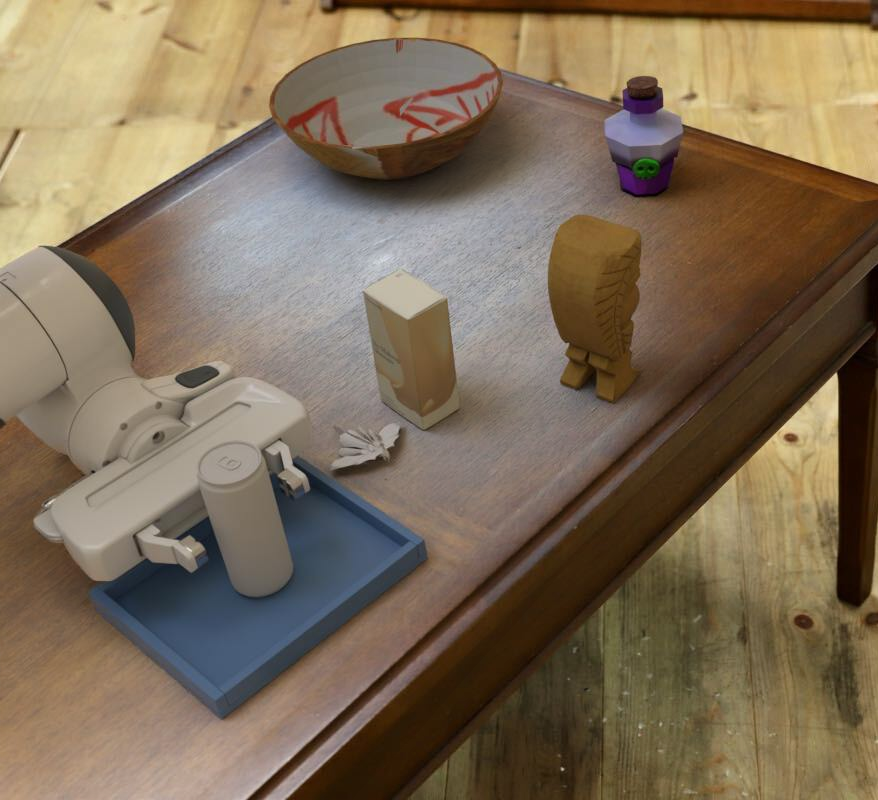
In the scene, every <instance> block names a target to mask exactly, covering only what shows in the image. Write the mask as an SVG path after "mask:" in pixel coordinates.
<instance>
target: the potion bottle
mask: <svg viewBox="0 0 878 800" xmlns="http://www.w3.org/2000/svg"><path fill="white" fill-rule="evenodd" d="M658 85H659V81H658V78H657V77H655V76H651V75H638V76H634V77H631V78H630V79H628V80H627V81H626V87H625V88H623V89H622V90H621V91H622V110H620V111H618V112H616V113H615V114H612V115H611V116H609V117H607V118H605V119H604V135H605V136H604V137H605V140H606V143H607V148H608V150H609V155H610V158H611V161H612V163H614V164H615V166H616V167H615V168H616V169H617V173H618V177H619V187H620V191H621V192H624V193H625V194H628V195H631V196H632V197H634V198H645V197H647V198H648V197H649V198H650V197H657V196H659V195H661V194H662V193H664V192H666V191H667V190H669V189H670V188H671V185H670V181H671V177H672V172H673V168H674V164H675V158H677V157H678V156H679V151H680V148H681V143H682V139H683V135H684V129H683V121H682V116H681V115H678V114H677V113H673V112H671V111H669V110H667V109H664V91H663V88H662V87H660V86H658Z"/></svg>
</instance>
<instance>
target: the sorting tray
mask: <svg viewBox="0 0 878 800" xmlns="http://www.w3.org/2000/svg"><path fill="white" fill-rule="evenodd" d="M292 462H293V466H294V467H295V468H297V469H298V470H300V471H301V472H303V473H304V474H305V475H306V477H307V479H308V482H309V486H310V490H309V491H308V492H307V493H305V494H304V495H302V496H301V497H299V498H298V499H296V500H295V501H293V500H291V499H290V496H285V495H284V494H283V493H281V490H280V483H279V482H278V478H277V474H276V473H274V472H273V473H272V474H270V475H269V477H270V481H271V484H272V488H273V492H274V495H275V499H276V503H277V507H278V510H279V514H280V518H281V521H282V525H283V529H284V533H285V536H286V540H287V544H288V547H289V551H290V555H291V558H292V562H293V573H292V575H291V578H290V579H289V581H288V582H287V583H286V584H285V586H284V587H282V588H281V589H280V590H279V591H277V592H275V593H273V594H271V595H268V596H264V597H249V596H246V595H243V594H241V593H239V592H238V591H237V590H235V588H234V587H233V585H232V584H231V581H230V577H229V574H228V571H227V568H226V565H225V562H224V559H223V556H222V553H221V551H220V548H219V545H218V542H217V539H216V536H215V533H214V530H213V527H212V524H211V521H210V518H209V516H208V517H207V518H205V519H204V520H202V521H201V522H199V523H198V524H196V525H195V526H193V527H192V528H190V529H189V530H187V531H186V532H184V533H183V534H181V535H180V536H178V537H177V538H175V539H174V540H180V541H181V540H182V539H184V538H185V537H187V536H188V535H191V536H192V537H193V538H195V540H196V542H200V543H201V544H202V545H203V546H204V548H205V550H206V556H208V559H209V560H208V561H207V562H206V563H205V564H203V565H202V566H201V567H199V568H198V569H196V570H195V571H194V572H192V573H191V572H189V571H188V570H187V569H185V568H184V567H183V566H181V565H180V564H179V563H178V564H169V563H154V562H151V561H150V560H149V559H148V558H146V559H144V560H143V561H141V562H140V563H138V564H137V565H136V566H134V567H133V568H131V569H130V570H128V571H127V572H125V573H124V574H122V575H121V576H119V577H118V578H116V579H115V580H113V581H102V582H101V583H99V584H98V585H97V586H95V587H93V588H92V589H90V590H89V591H88V592H87V593H88V596H89V598H90V600H91V603H92V605H93V608H94V610H95V612H96V613H98V614H99V615H100V616H101V617H102V618H103V619H104V620H105V621H107V622H108V623H109V624H110V625H112V626H113V627H114V628H115V629H116V630H117V631H119V633H121V634H122V635H123V636H124V637H125V638H127V639H128V640H129V641H130V642H131V643H132V644H133V645H135V646H136V647H137V648H138V649H139V650H140V651H141V652H143V653H144V654H145V655H146V656H148V657H149V658H150V659H151V660H152V661H153V662H154V663H156V664H157V665H158V666H159V667H160V668H161V669H163V670H164V672H166V673H167V674H168V675H170V676H171V677H172V678H173V679H174V680H175V681H177V682H178V683H179V684H180V685H181V687H183V688H185V689H186V690H187V691H188V692H189V693H190V694H191V695H193V696H194V697H195V698H196V699H197V700H199V702H200V703H202V704H203V705H204V706H205V707H206V708H208V709H209V710H210V711H211V712H213V713H214V714H215V715H216V716H217V717H218V718H219V719H220V720H223V719H224V718H225V717H227V716H229V714H231V713H232V712H233V711H234V710H236V709H237V708H239V706H241V705H242V704H243V703H245V702H246V701H247V700H249V699H250V698H251V697H252V696H254V695H255V694H256V693H258V692H259V691H260V690H261V689H263V688H264V687H265V686H266V685H268V684H269V683H270V682H272V681H273V680H274V679H275V678H277V677H278V676H280V674H282V673H283V672H285V670H287V669H288V668H290V667H291V666H292V665H293V664H295V663H296V662H297V661H298V660H300V659H301V658H302V657H304V656H305V655H306V654H308V653H309V652H310V651H311V650H313V649H314V648H315V647H316V646H317V645H319V644H320V643H321V642H323V641H324V640H326V639H327V638H328V637H329V636H330V635H332V634H333V633H334V632H336V631H337V630H338V629H339V628H340V627H342V626H343V625H344V624H346V623H347V622H348V621H350V620H351V619H352V618H353V617H355V616H356V615H357V614H359V612H361V611H362V610H363V609H365V608H366V607H367V606H368V605H371V603H372V602H374V601H375V600H376V599H378V598H379V597H380V596H381V595H383V594H384V593H385V592H387V591H388V590H389V589H390V588H391V587H393V586H394V585H395V584H397V583H398V582H399V581H401V580H403V578H404V577H406V576H407V575H408V574H410V573H411V572H412V571H413V570H415V569H416V568H417V567H418V566H420V565H421V564H422V563H423V562H425V561H426V560H428V552H427V546H426V542H425V539H424V538H423V537H421V536H420V535H418V534H417V533H415V532H414V531H412V530H411V529H409V528H408V527H406V526H404V525H403V524H402V523H400V522H399V521H398V520H396V519H394V518H393V517H392V516H390V515H388V514H387V513H385V512H383V510H380V508H378V507H376V506H375V505H373V504H372V503H370V502H368V501H367V500H366V499H364V498H363V497H361V496H360V495H359V494H357V493H355V492H353V490H351V489H349V488H348V487H346V486H345V485H344V484H342V483H340V482H339V481H337V480H336V479H334V478H333V477H332V476H330V475H328V474H327V473H325V472H324V471H322V470H321V469H320V468H318V467H316V466H315V465H313V464H312V463H310V461H309V462H308V461H307V460H306V459H304V458H303V457H301V456H300V455H298V456H297V457H295V458H294V459H292Z"/></svg>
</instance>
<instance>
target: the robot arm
mask: <svg viewBox="0 0 878 800" xmlns="http://www.w3.org/2000/svg"><path fill="white" fill-rule="evenodd" d="M128 303H129V302H128V301H127V299H126V297H125V296H124V294H123V292H122V290H120V288H119V286H118V285H117V284H116V283H115V281H114V280H113V279H112V278H111V277H110V276H109V275H108V274H107V273H106V272H105V271H104V270H102V268H100V267H99V266H98V265H96V264H95V263H94V262H93V261H91V260H90V259H88V258H87V257H86V256H83V255H81V254H79V253H76V252H74V251H71V250H69V249H66V248H62V247H59V246H53V245H38V246H37V247H36V248H34V249H32V250H30V251H28V252H25V253H24V254H22V255H20V256H19V257H17V258H15V259H14V260H12V261H10V262H8V263H7V264H5V265H3V266H2V267H0V430H2V429H3V428H4V427H5V426H6V425H7V422H9V421H10V420H12V419H13V418H15V417H16V418H18V420H19V421H20V422H21V423H22V424H23V425H24V426H25V427H26V428H27V429H28V430H29V431H30V432H31V433H32V434H33V435H35V436H36V437H37V438H38V439H39V440H40V441H42V442H43V443H44V444H45V445H46V446H48V447H49V448H50V449H52V450H53V451H55V452H57V453H59V454H62V455H65V456H67V457H68V458H69V460H70V461H71V463H72V464H73V465H74V466H75V468H76V469H78V470H79V471H80V472H82V473H83V474H84V476H82V477H81V478H79V479H78V480H76V481H74V482H73V483H72V484H70V485H69V486H68V487H66V489H64V490H62V491H61V492H59V493H57V494H53V495H52V496H49V498H48V497H47V499H46V500H45V501H43V502H42V503H41V505H40V507H41V509H40V510H38V512H37V513H36V514H35V516H34V519H33V527H34V529H35V531H37V533H39V534H40V535H41V536H43V537H44V538H45V539H46V540H47V541H49V542H51V543H54V544H63V545H64V547H65V549H66V551H67V552H68V554H69V555H70V556H71V558H72V559H73V560H74V562H75V563H76V564H77V565H78V566H79V568H80V569H81V570H82V571H83V572H84V573H85V574H86V575H87V576H88V577H89V578H90V579H91V580H93V581H95V582H104V581H113V580H115V579H116V578H118V577H119V576H121V575H122V574H124V573H125V572H127V571H128V570H130V569H131V568H133V567H134V566H136V565H137V564H138V563H140V562H141V561H143V560H144V559H146V558H148V559H149V560H150V561H151V562H154V563H169V564H178V563H179V564H180V565H181V566H183V567H184V568H185V569H187V570H188V571H189V572H191V573H192V572H194V571H195V570H196V569H198V568H199V567H201V566H202V565H203V564H205V563H206V562H207V561H208V560H209V559H208V556H206V550H205V548H204V546H203V545H202V544H201V543H200V542H196V540H195V538H193V537H192V536H191V535H188V536H187V537H185V538H184V539H182V540H181V541H180V540H174V539H175V538H177V537H178V536H180V535H181V534H183V533H184V532H186V531H187V530H189V529H190V528H192V527H193V526H195V525H196V524H198V523H199V522H201V521H202V520H204V519H205V518H207V517H208V516H209V515H208V512H207V508H206V505H205V502H204V499H203V496H202V493H201V490H200V486H199V483H198V479H197V469H196V467H197V462H198V460H199V458H200V456H201V455H202V454H203V453H204V452H205V451H207V450H208V449H209V448H211V447H213V446H215V445H217V444H219V443H222V442H226V441H233V440H241V441H247V442H250V443H252V444H254V445H255V446H257V447H258V449H259V450H260V451H261V455H262V456H263V457H264V459H265V462H266V466H267V470H268V473H269V475H270V474H272V473H273V472H274V473H276V474H277V478H278V482H279V483H280V490H281V493H283V494H284V495H285V496H290V499H291V500H293V501H295V500H296V499H298V498H299V497H301V496H302V495H304V494H305V493H307V492H308V491H309V490H310V486H309V482H308V479H307V477H306V475H305V474H304V473H303V472H301V471H300V470H298V469H297V468H295V467H294V466H293V462H292V459H294V458H295V457H297V456H300V455H301V454H303V453H305V452H306V451H308V450H309V449H310V448H311V447H312V446H313V444H314V428H313V423H312V419H311V416H310V413H309V410H308V409H307V407H306V406H305V404H304V403H303V402H302V401H300V400H299V399H297V398H296V397H294V396H293V395H291V394H289V393H288V392H286V391H284V390H282V389H280V388H278V387H276V386H275V385H273V384H271V383H268V382H266V381H264V380H261V379H259V378H257V377H252V376H239V377H237V376H236V373H235V371H234V369H233V367H232V366H231V365H230V363H228V362H226V361H223V360H214V361H210V362H207V363H205V364H201V365H199V366H196V367H193V368H189V369H186V370H184V371H179V372H177V373H173V374H168V375H163V376H157V377H152V378H149V379H148V378H145V377H142V376H139V375H138V374H137V373H136V372H135V370H134V368H133V367H132V362H134V361H135V356H136V326H135V321H134V317H133V313H132V310H131V307H130V306H129V304H128Z"/></svg>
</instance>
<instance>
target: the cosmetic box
mask: <svg viewBox="0 0 878 800" xmlns="http://www.w3.org/2000/svg"><path fill="white" fill-rule="evenodd" d="M362 294H363V301H364V306H365V313H366V319H367V323H368V324H367V326H368V331H369V338H370V343H371V349H372V354H373V361H374V367H375V374H376V380H377V386H378V392H379V398H380V401H382V402H383V403H385V405H387V406H388V407H389V408H391V409H392V410H394V411H395V412H396V413H397V414H399V415H400V416H402V417H403V418H404V419H406V420H408V421H409V422H411V423H412V424H413V425H415V426H416V427H418V428H419V429H420V430H422V431H425V430H428V428H430V427H432V426H434V425H435V424H437V423H438V422H440V421H442V420H443V419H445V418H447V417H448V416H450V415H451V414H453V413H454V412H457V411H458V410H459V409H460V407H461V405H460V398H459V397H460V396H459V387H458V379H457V371H456V364H455V363H456V362H455V353H454V344H453V337H452V327H451V320H450V310H449V303H448V297H447V295H445V294H444V293H442V292H440V291H439V290H437V289H436V288H434V287H432V285H429V284H428V283H427V282H426V281H423V280H422V279H420V278H418V277H417V276H414V275H413V274H412V273H410V272H408V271H407V270H406V269H404V268H402V267H400V268H397V269H396V270H394V271H392V272H391V273H388V274H387V275H385V276H383V277H382V278H379V279H378V280H376V281H374V282H372V283H371V284H369V285H367V286H366V287H364V288H363V289H362Z"/></svg>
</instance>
